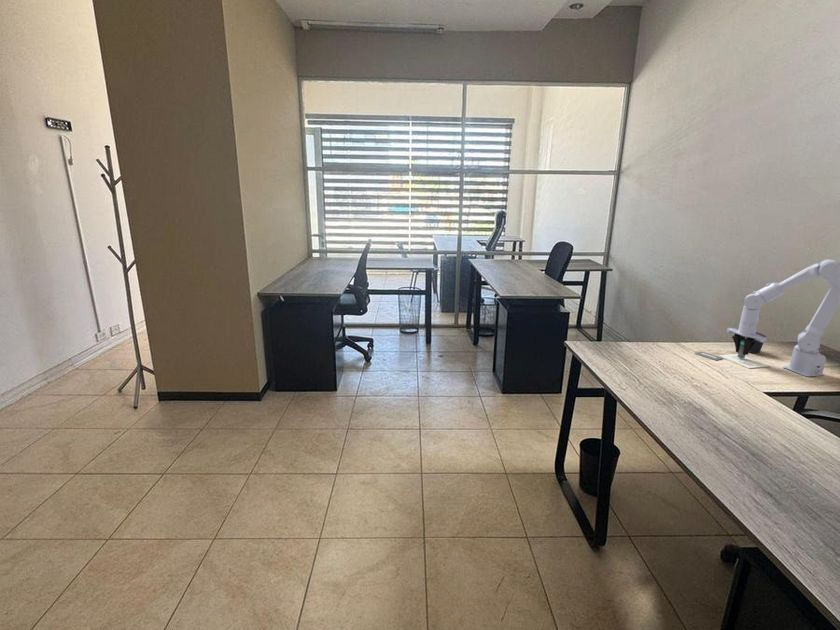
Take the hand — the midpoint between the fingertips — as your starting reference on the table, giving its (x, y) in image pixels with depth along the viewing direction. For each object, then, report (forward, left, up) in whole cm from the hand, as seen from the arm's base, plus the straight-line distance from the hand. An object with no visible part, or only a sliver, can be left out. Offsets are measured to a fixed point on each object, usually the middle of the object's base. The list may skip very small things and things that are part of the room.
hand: (741, 353), depth 177 cm
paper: (-2, +1, -3) cm, 4 cm away
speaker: (+7, -14, -3) cm, 16 cm away
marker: (0, 0, -2) cm, 2 cm away
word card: (+6, +10, -3) cm, 12 cm away
